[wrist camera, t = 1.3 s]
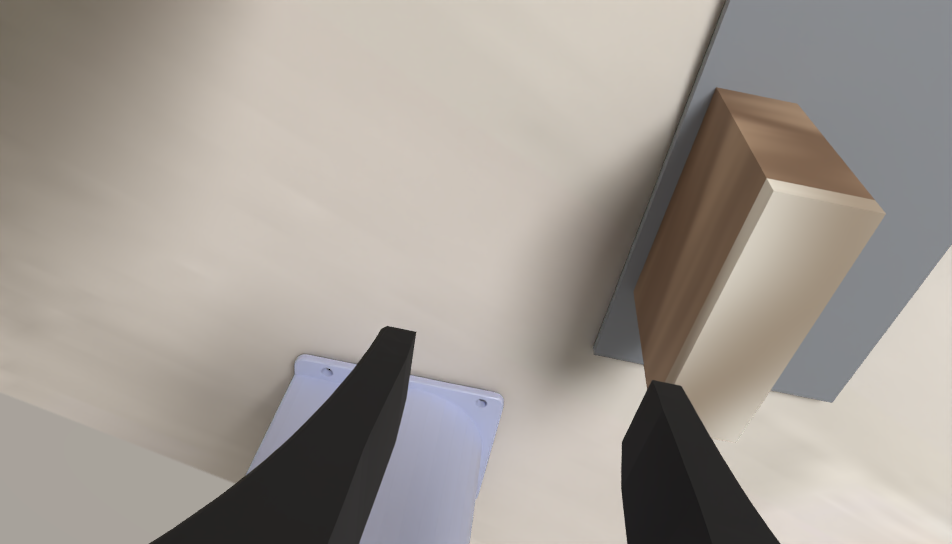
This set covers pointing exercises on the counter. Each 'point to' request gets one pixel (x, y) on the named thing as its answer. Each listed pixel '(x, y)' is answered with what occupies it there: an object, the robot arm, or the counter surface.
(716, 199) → the slab
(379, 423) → the robot arm
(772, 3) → the mat
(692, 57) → the counter surface
